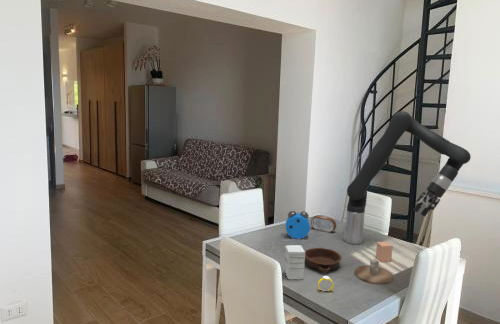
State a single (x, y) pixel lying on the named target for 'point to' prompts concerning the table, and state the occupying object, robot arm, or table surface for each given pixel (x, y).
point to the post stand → (374, 273)
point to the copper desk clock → (323, 223)
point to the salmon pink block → (384, 251)
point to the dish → (322, 259)
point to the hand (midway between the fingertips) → (418, 213)
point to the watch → (326, 280)
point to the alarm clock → (297, 224)
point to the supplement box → (294, 261)
